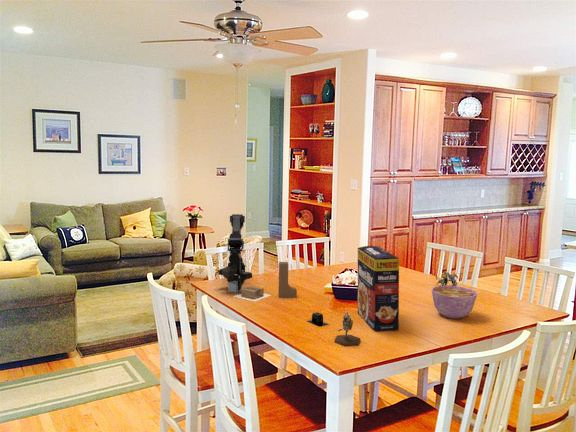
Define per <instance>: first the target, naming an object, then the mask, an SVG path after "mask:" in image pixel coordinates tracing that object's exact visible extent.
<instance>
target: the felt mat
mask: <svg viewBox="0 0 576 432" xmlns="http://www.w3.org/2000/svg"><path fill="white" fill-rule="evenodd" d="M232 297H233V298H238V299H243V300H247V301H251V302H257V301H260V300H262V299H265V298H267V297H271V294H268V293H264V296H263V297H260V298H257V299H254V300H253V299H248V298H244V297H241V293H239V294H236V295H233V296H232Z"/></svg>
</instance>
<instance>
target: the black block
mask: <svg viewBox="0 0 576 432" xmlns="http://www.w3.org/2000/svg"><path fill="white" fill-rule="evenodd" d="M311 314H312V315H311V319H308V320H306V322H307V323H309V324H312V325H315V326H316V327H319V328H321V327H325V326H328V325H330V323H327V322H325V321H324V316H323V315H324V314H323V313H320V312H318V311H316V312H313V313H311Z"/></svg>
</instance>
